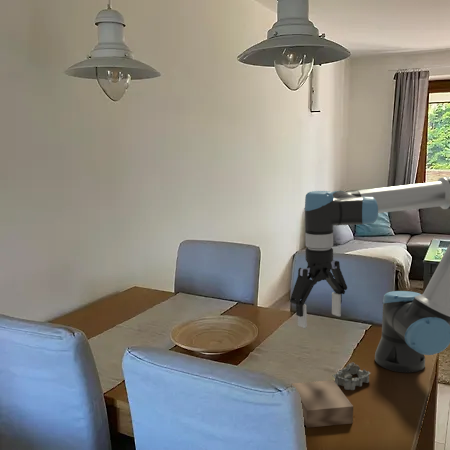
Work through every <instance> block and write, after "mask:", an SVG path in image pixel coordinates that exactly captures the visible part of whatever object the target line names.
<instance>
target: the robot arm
mask: <svg viewBox="0 0 450 450" xmlns="http://www.w3.org/2000/svg"><path fill="white" fill-rule="evenodd" d="M304 200H305V201H304V221H305V222H304V223H305V227H304V228H305V233H304V234H305V236H304V238H305V247H306V248H305V251H304V252H305V262H306V264H307V266H306V268H305V267H304V268H303V267H299V268H298V271H297V278H296V281H295V284H294V286H293V291H292V293H291V296H290V299H289V303H291V304H294V305H295V314H296V316H297V326H298V327H301V328H303V329H307V326H308V325H307V322H308V321H307V319H308V318H307V304H305V303H306V301H307V299H308V298H309V295H310V293H311V291H312V289H313V288H314V286H315V285H317V283H318V282H321V281H326V282H327V284H328V285H329V286H330V288H331V289H332V290H333V292H331V314H332V315H333V316H336V317H341V315H342V313H341V312H342V309H341V308H342V306H341V305H342V301H343V299H342V298H343V295H345V293H346V290H348V285H347V283H346V280H345V278H344V275H343V272H342V270H341V265H340V263H341V262H340V261H339V260H334V248H333V247H334V226H335V227H336V226H350V225H351V226H354V225H364V226H365V225H368V224H374V223H375V222H376V221H378V220H377V219H378V217H379V214H384V213H390V212H391V213H392V212H400V211H402V212H403V211H409V210H420V209H427V208H429V209H430V208H437V207H440V208H441V209H442V210H450V176H443V177H440V178H438V180H437V181H429V182H423V183H422V182H421V183H412V184H403V185H394V186H385V187H374V188H368V189H367V188H366V189H356V190H350V191H349V190H348V191H347V190H346V191H343V190H334V191H330V190H329V191H328V190H314V191H313V190H312V191H309V192H307V193H306V195H305V199H304ZM382 299H383V300H382V301H383V302H382V319H381V321H382V323H381V337H380V340H379V342H378V345H377V347H376V350H375V352H374V353H375V354H374V361H375V363H376V364H377V365H378V366H379V367H382V368H384V369H385V370H388V371H392V372H398V373H406V374H407V373H417V372H420V371H422V370H424V369H425V367H426V357H425V356H432V355H433V356H434V355H436V354H439V353H441V352H443V351H445V350H446V349H447V348H448V347H449V345H450V243H449V244H448V247H447V249H446V250H445V252H444V254H443V256H442V258H441V259H440V261H439V263H438V264H437V267H436V268H435V271H434V273H433V274H432V277H431V278H430V280H429V282H428V284H427V285H426V288H425V289H424V291H423V293H422V294H421V293H420V292H417V291H416V292H415V291H408V290H407V291H406V290H394V291H389V292H386V293H385V294H384V295H383V298H382Z"/></svg>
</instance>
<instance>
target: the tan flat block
mask: <svg viewBox="0 0 450 450" xmlns="http://www.w3.org/2000/svg"><path fill="white" fill-rule="evenodd" d="M292 385H293V386H294V387H296V389H297V390H298V392H299V394H300V397H301V403H302V409H303V417H304V422H303V423H304V425H305V426H306V427H305V428H315V427H317V428H318V427H325V426H327V427H328V426H338V425H348V424H353V423H354V422H353V421H354V405H353V404H352V403H351V401H350V400H349V399H348V397H347V396H346V394H344V392H343V390H341V388H340V386H339V385H337V384H336V383H335V379H334V380H332V379H331V380H320V381H319V380H318V381H306V382H305V381H304V382H294V383H291V386H292Z"/></svg>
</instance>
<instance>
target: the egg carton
mask: <svg viewBox="0 0 450 450" xmlns="http://www.w3.org/2000/svg"><path fill="white" fill-rule="evenodd" d="M353 375H357V377H353ZM370 375H371V372H370V371H369V370H368V371H367V370H366V369H365V368H363V370H361V367H360V366H359V364H356V363H355V361H352V362H349V363H348V364H346V366H345V367H342V369H340V370H338V371H337V372H335V374H333V375H332V377H333V378H334V381H335V383H336V384H337V385H338V386H342V387H344V390H346V391H354V390H356V387H362V386H363V383H367V384H368V383H370Z"/></svg>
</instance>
